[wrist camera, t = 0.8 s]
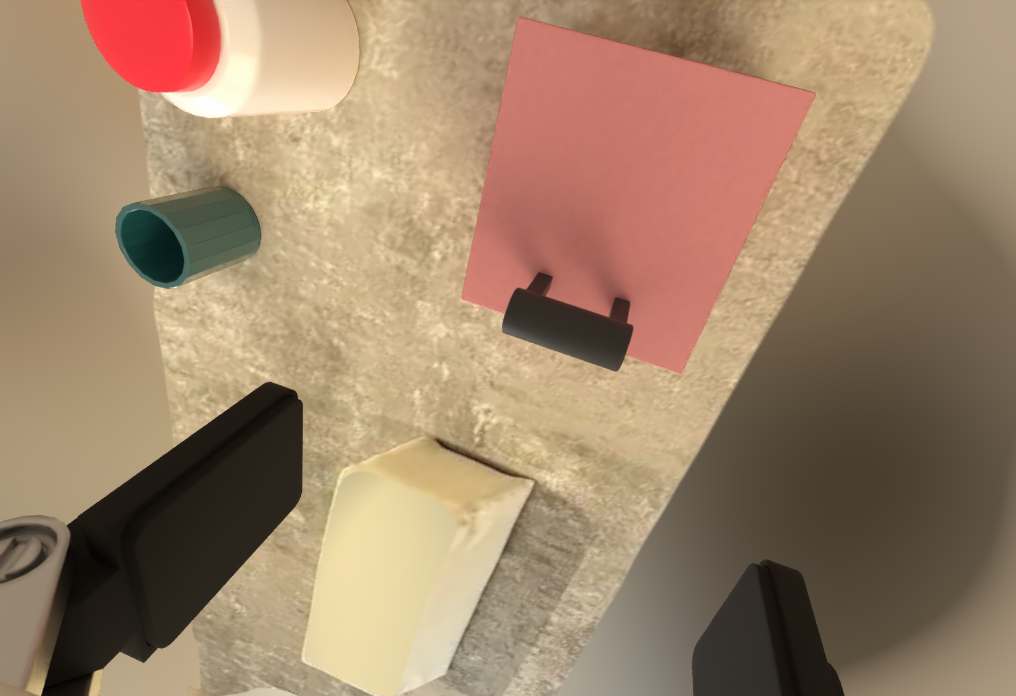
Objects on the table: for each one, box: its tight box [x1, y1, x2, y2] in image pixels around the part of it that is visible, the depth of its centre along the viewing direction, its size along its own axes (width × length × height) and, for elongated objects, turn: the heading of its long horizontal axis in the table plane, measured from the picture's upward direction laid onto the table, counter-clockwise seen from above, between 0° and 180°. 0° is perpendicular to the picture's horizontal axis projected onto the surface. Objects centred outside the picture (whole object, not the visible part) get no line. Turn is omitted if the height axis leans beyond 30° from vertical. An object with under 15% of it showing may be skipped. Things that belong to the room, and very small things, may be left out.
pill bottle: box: [81, 0, 360, 118], centre depth 25 cm, size 8×8×11 cm
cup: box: [115, 187, 261, 289], centre depth 35 cm, size 5×5×6 cm
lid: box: [461, 17, 816, 374], centre depth 19 cm, size 12×11×6 cm
